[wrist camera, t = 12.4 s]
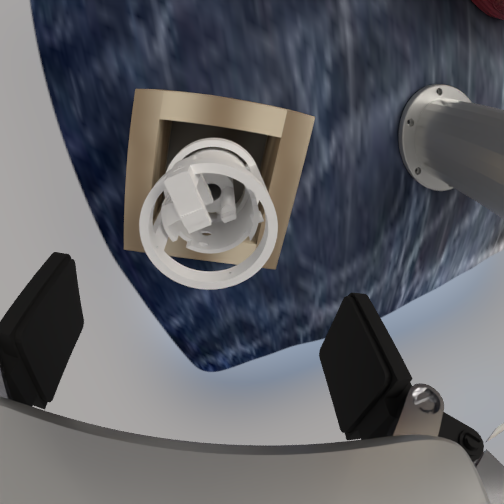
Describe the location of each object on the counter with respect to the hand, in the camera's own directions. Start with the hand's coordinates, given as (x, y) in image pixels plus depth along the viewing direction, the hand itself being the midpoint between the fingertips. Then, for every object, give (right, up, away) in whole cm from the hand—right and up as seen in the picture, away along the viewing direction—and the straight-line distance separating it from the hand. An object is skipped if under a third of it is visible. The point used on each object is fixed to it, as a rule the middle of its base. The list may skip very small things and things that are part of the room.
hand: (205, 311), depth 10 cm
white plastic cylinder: (-2, +10, +18) cm, 20 cm away
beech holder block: (-2, +10, +19) cm, 22 cm away
